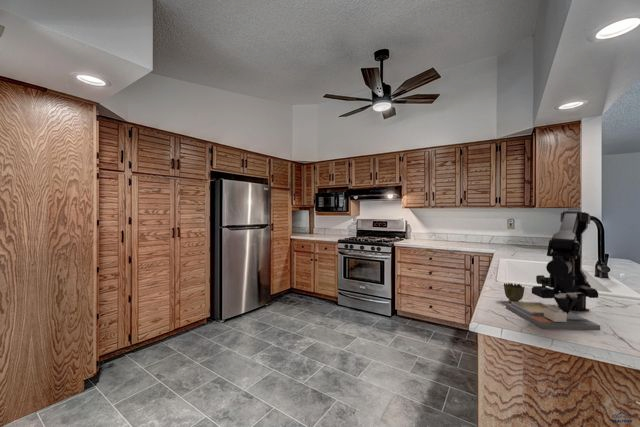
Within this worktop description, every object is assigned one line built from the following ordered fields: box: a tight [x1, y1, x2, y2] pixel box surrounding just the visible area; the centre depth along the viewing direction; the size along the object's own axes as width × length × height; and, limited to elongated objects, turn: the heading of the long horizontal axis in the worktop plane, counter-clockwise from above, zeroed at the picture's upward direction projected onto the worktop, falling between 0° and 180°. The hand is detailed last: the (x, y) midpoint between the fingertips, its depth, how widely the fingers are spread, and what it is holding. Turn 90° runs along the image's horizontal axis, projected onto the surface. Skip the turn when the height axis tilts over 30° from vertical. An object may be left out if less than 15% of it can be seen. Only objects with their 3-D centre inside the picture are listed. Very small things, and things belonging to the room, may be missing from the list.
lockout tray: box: [510, 301, 549, 316], centre depth 107 cm, size 12×12×1 cm
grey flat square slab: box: [505, 303, 601, 331], centre depth 104 cm, size 19×20×2 cm
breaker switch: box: [544, 304, 567, 322], centre depth 98 cm, size 4×5×4 cm
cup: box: [503, 282, 525, 304], centre depth 119 cm, size 8×7×8 cm
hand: (564, 315), depth 98 cm, fingers closed
